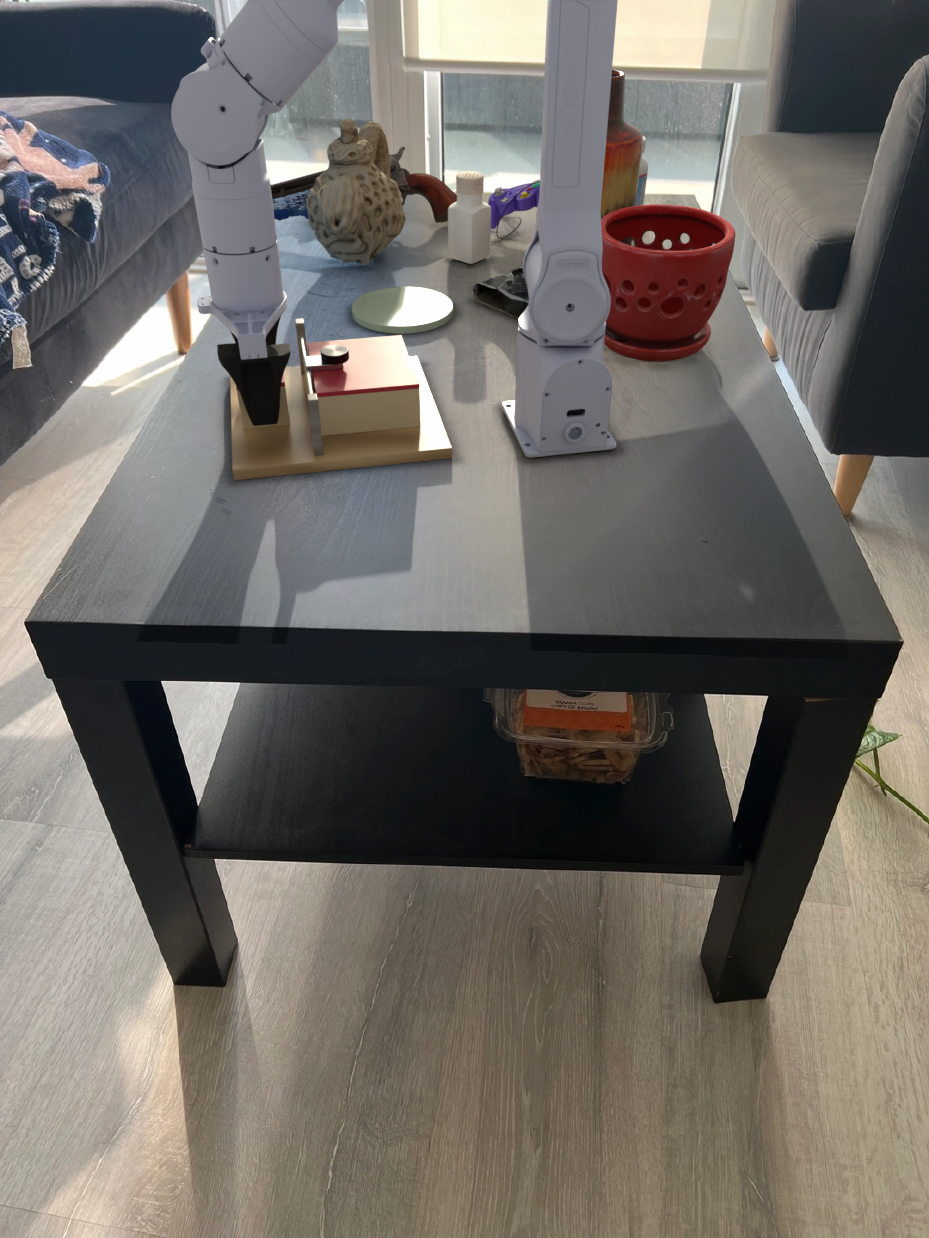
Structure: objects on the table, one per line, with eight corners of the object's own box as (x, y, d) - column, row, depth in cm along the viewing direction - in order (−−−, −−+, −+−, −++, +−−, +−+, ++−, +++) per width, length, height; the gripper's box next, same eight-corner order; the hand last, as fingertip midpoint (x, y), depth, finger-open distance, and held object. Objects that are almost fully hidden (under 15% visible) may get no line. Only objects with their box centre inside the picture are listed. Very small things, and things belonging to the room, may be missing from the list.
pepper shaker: (471, 266, 112) (472, 182, 106) (446, 259, 114) (445, 176, 107) (492, 257, 114) (494, 174, 108) (466, 250, 116) (467, 168, 110)
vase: (644, 275, 110) (670, 79, 97) (562, 287, 107) (577, 87, 94) (601, 245, 117) (619, 60, 104) (523, 256, 114) (532, 67, 101)
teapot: (384, 290, 105) (377, 146, 96) (287, 283, 107) (269, 140, 97) (424, 229, 121) (421, 100, 111) (338, 223, 123) (328, 95, 113)
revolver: (469, 220, 125) (441, 145, 127) (470, 202, 121) (441, 125, 123) (281, 273, 122) (255, 196, 124) (276, 256, 118) (250, 177, 121)
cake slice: (290, 425, 80) (284, 382, 78) (243, 429, 80) (235, 386, 77) (286, 398, 84) (281, 356, 81) (241, 402, 83) (234, 360, 81)
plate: (462, 329, 98) (462, 322, 97) (358, 337, 96) (357, 330, 96) (443, 290, 106) (443, 283, 106) (347, 297, 104) (346, 290, 104)
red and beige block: (420, 427, 80) (419, 384, 77) (320, 436, 79) (315, 393, 76) (403, 375, 87) (401, 334, 85) (311, 383, 86) (306, 342, 83)
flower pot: (574, 321, 100) (583, 204, 92) (693, 317, 100) (713, 201, 93) (599, 376, 90) (612, 250, 82) (731, 371, 91) (757, 246, 83)
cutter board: (452, 458, 78) (452, 393, 74) (234, 480, 75) (222, 413, 71) (417, 365, 91) (415, 305, 87) (231, 381, 89) (221, 320, 85)
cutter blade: (359, 428, 78) (355, 377, 75) (314, 433, 78) (308, 381, 75) (345, 371, 87) (341, 323, 84) (305, 375, 86) (299, 326, 83)
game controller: (467, 210, 116) (486, 171, 122) (488, 268, 122) (505, 229, 128) (542, 192, 112) (558, 153, 118) (560, 254, 118) (574, 213, 123)
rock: (334, 169, 135) (335, 183, 136) (232, 194, 127) (234, 209, 128) (396, 189, 126) (397, 204, 128) (291, 218, 118) (293, 234, 119)
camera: (503, 288, 107) (504, 250, 104) (568, 316, 101) (572, 277, 98) (470, 299, 104) (471, 261, 101) (535, 328, 98) (537, 289, 95)
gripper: (189, 215, 77) (216, 369, 86) (184, 280, 66) (216, 448, 75) (275, 211, 78) (293, 362, 87) (285, 273, 67) (304, 439, 76)
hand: (263, 402), depth 81 cm, fingers open, 7 cm apart
